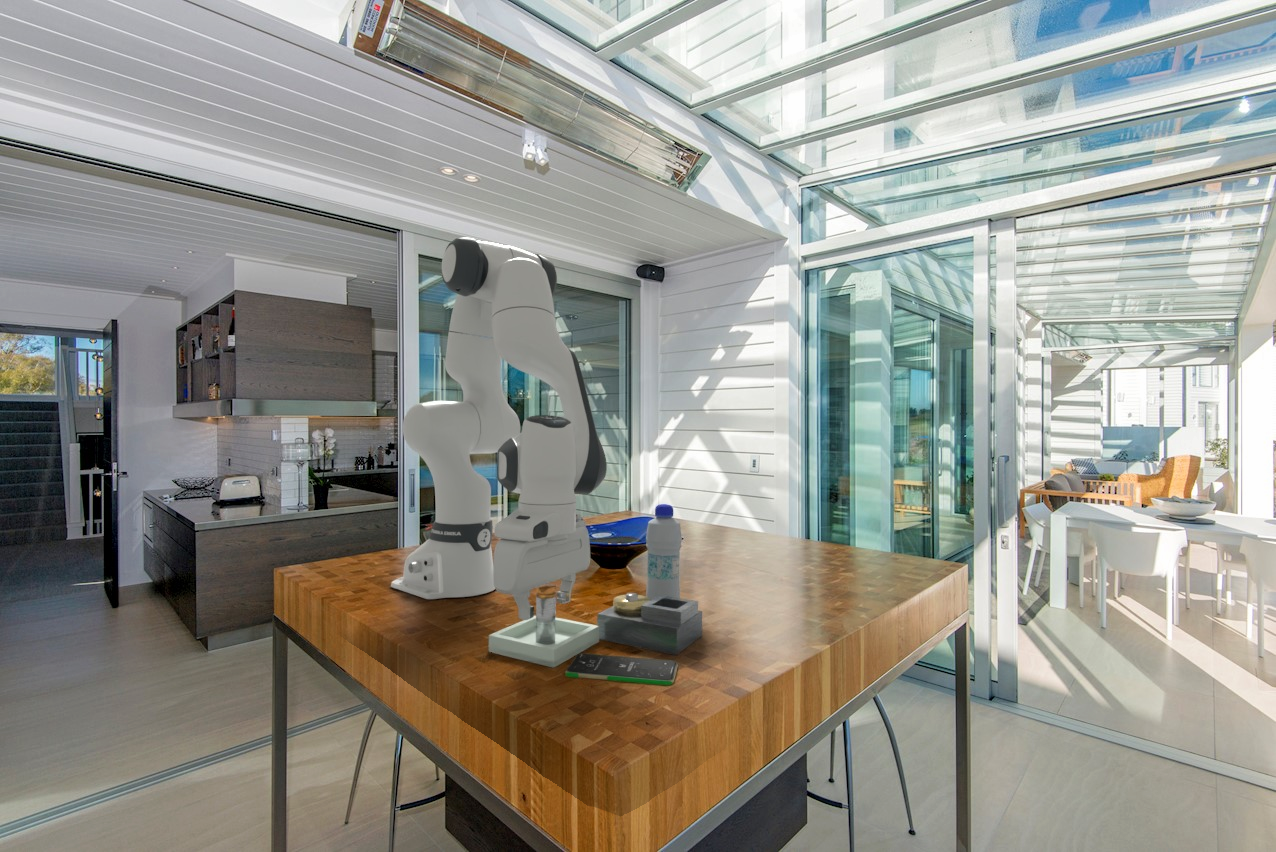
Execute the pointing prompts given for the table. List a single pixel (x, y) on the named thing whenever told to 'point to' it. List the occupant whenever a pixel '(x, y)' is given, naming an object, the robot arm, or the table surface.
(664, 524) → the bottle
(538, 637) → the lock pin
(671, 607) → the grey stepped block
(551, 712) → the table surface
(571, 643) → the tray
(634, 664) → the smartphone
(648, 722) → the table surface
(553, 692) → the table surface
